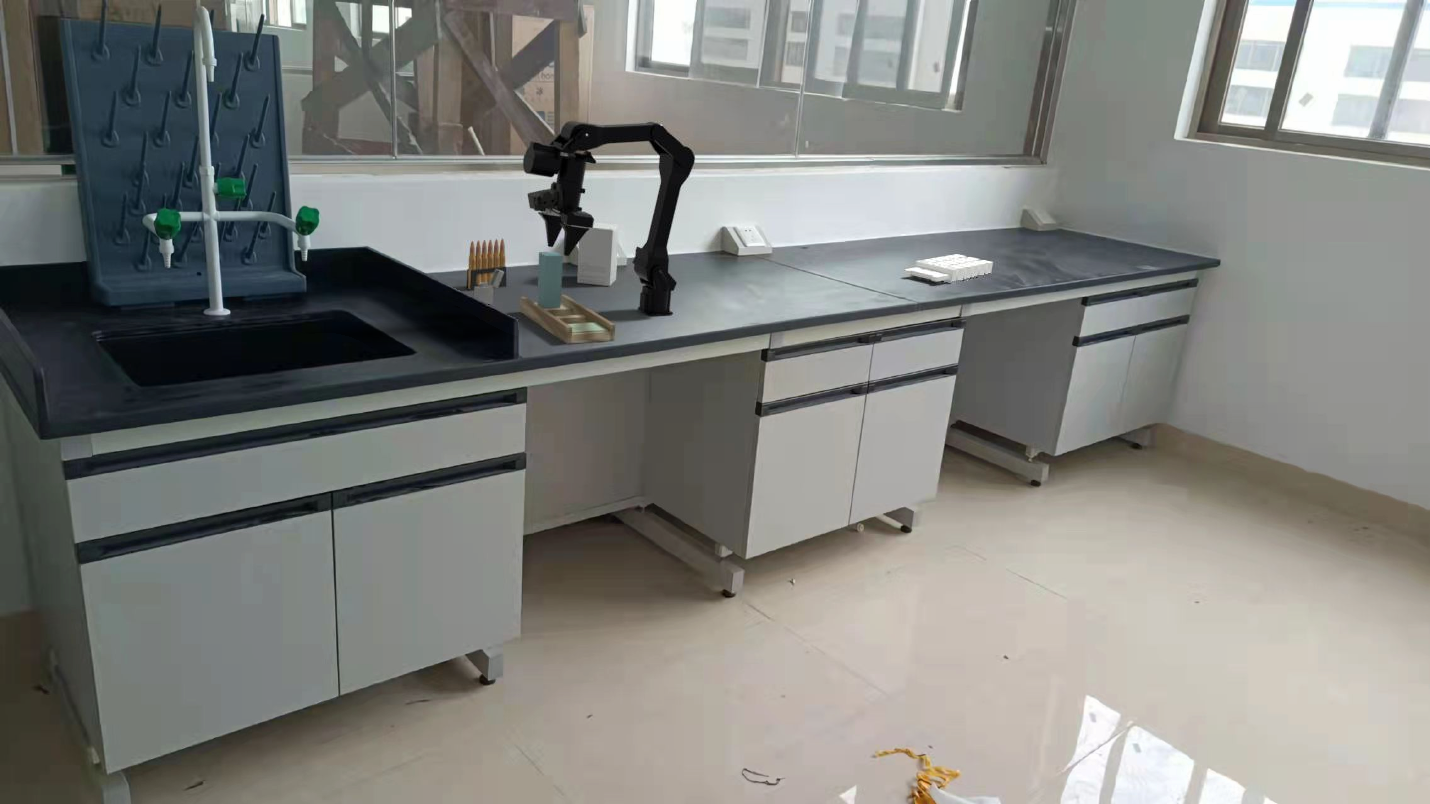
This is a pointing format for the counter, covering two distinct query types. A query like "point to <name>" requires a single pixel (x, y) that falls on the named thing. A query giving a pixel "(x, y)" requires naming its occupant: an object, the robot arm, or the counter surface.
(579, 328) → the wooden slatted tray
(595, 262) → the supplement box
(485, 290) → the lighter
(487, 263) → the ammunition clip
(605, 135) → the robot arm
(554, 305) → the teal block
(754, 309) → the counter surface
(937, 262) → the organizer
